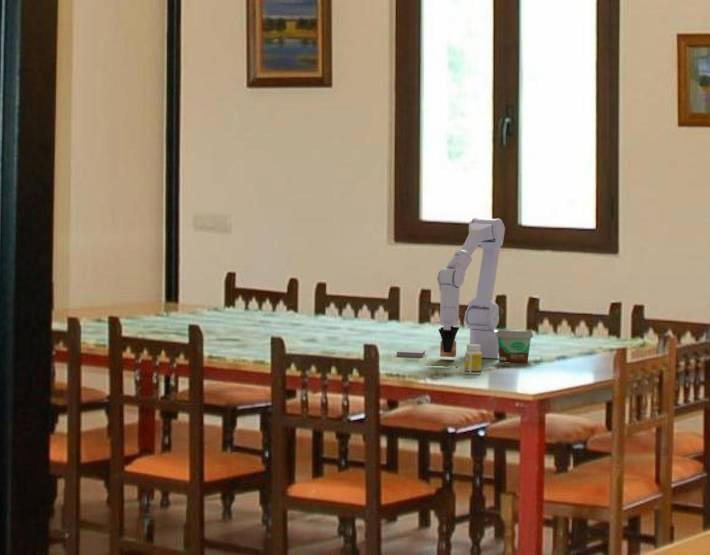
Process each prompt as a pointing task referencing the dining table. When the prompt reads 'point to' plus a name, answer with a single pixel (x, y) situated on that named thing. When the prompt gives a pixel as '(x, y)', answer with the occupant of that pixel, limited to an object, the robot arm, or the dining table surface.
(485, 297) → the robot arm
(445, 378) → the dining table surface
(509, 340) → the food container
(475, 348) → the supplement bottle
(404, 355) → the slate top slab
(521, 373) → the dining table surface
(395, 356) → the walnut base slab
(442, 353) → the terracotta cube
